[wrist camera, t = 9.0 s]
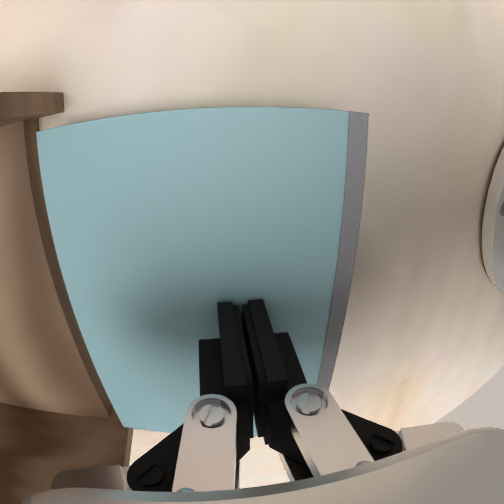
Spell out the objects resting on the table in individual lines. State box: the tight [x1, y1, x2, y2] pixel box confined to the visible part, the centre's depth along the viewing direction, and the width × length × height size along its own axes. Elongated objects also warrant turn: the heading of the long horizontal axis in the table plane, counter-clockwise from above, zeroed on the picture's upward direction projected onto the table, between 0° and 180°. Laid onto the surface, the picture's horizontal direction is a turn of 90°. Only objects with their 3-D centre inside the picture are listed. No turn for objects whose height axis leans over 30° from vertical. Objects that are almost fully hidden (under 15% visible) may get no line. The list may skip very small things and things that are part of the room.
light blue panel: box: [36, 107, 369, 436], centre depth 12 cm, size 1×15×11 cm
